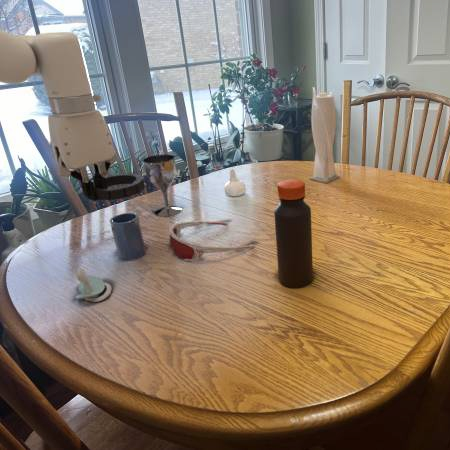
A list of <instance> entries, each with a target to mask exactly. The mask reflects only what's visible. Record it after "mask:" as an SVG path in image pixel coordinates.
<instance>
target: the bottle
mask: <svg viewBox="0 0 450 450" xmlns="http://www.w3.org/2000/svg"><path fill="white" fill-rule="evenodd" d="M277 197H278V200H279V203H278V204H277V205H276V207H275V208H274V210H273V211H274V212H273V215H274V230H275V231H274V232H275V243H276V258H277V272H278V282H280V284H281V285H283V286H284V287H287V288H291V289H296V288H297V289H298V288H302V287H306V286H308V285H309V284H311V282H312V281H313V279H314V266H313V265H314V264H313V263H314V262H313V233H312V231H313V230H312V209H311V207H310V205H309V204H308V203H306V202H305V198H306V183H305V182H304V181H303V180H300V179H294V178H293V179H285V180H281V181H279V182H278V183H277Z"/></svg>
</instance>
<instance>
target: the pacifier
mask: <svg viewBox="0 0 450 450" xmlns="http://www.w3.org/2000/svg"><path fill="white" fill-rule="evenodd" d="M75 275H76V278H77V280H78V281H79V284H78V291H79V293H78V294H77V295H76V296H75V300H83V299H85V301H89V302H95V303H96V302H97V303H98V302H102V301H104V300H105V299H107V298H108V297H109V296H110V295H111V294H112V288H113V287H112V285H111V284H110V283H108V282H104V280H103V279H102V278H100V277H99V276H97V275H89V273H88V272H87V270H86V269H85V268H84V267H82V266H80V267H79V268H78V269H77V270H76V273H75ZM105 289H106V290H105ZM104 290H105V292H104ZM103 292H104V293H103ZM102 293H103V294H102ZM100 294H102V295H100ZM99 295H100V296H99Z"/></svg>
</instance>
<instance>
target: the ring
mask: <svg viewBox="0 0 450 450" xmlns="http://www.w3.org/2000/svg"><path fill="white" fill-rule="evenodd" d="M105 180H106V184H107V188H108V189H101V188H98V187H95V185H94V188H95V191H96V195H97V200H96V201H116V200H120V199H126V198H129V197H133V196H135V195H137V194H140V193H141V192H143V191H144V190H145V189H146V186H145V181H144V176H143V175H142V174H138V173H133V172H132V173H131V172H130V173H128V172H127V173H124V172H123V173H116V174H110V175H109V174H108V175H107V176H106V177H105ZM92 182H93V184H94V181H92ZM119 185H123V186H119ZM112 186H119V187H113V188H110V187H112Z"/></svg>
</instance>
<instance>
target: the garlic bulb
mask: <svg viewBox="0 0 450 450" xmlns="http://www.w3.org/2000/svg"><path fill="white" fill-rule="evenodd" d="M229 171H230V172H229V180H228V181H227V182H226V183H225V185H224V192H225V195H227V196H229V197H239V196H242V195H244V194H245V193H246V191H247V187H246V184H245V183H244V181H242V180H240V179H238V177H237V175H236V172H235V168H234V167H233V168H230V169H229Z"/></svg>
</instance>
